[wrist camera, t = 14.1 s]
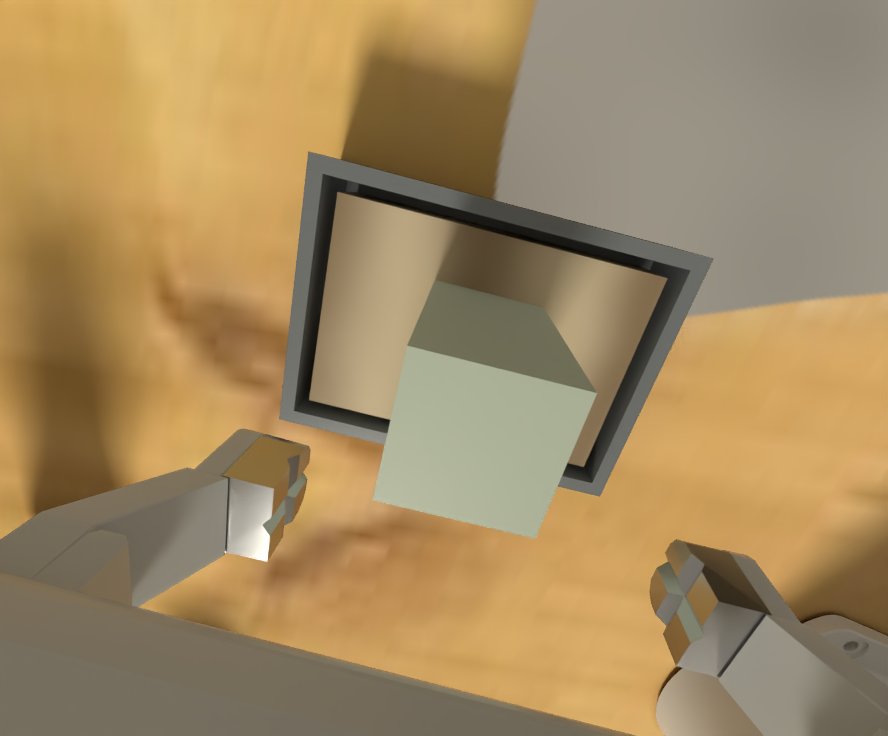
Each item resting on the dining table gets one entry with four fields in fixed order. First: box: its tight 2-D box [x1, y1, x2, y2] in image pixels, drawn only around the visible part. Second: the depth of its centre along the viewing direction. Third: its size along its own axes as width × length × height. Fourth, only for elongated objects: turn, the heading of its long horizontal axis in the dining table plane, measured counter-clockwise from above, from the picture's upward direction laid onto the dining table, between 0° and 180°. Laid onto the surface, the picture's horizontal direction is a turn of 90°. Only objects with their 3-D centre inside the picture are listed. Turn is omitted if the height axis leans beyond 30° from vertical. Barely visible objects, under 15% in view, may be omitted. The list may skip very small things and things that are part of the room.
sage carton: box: [373, 280, 597, 538], centre depth 14 cm, size 4×4×8 cm
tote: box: [279, 151, 713, 496], centre depth 20 cm, size 15×11×4 cm
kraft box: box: [309, 192, 668, 467], centre depth 19 cm, size 13×9×3 cm
